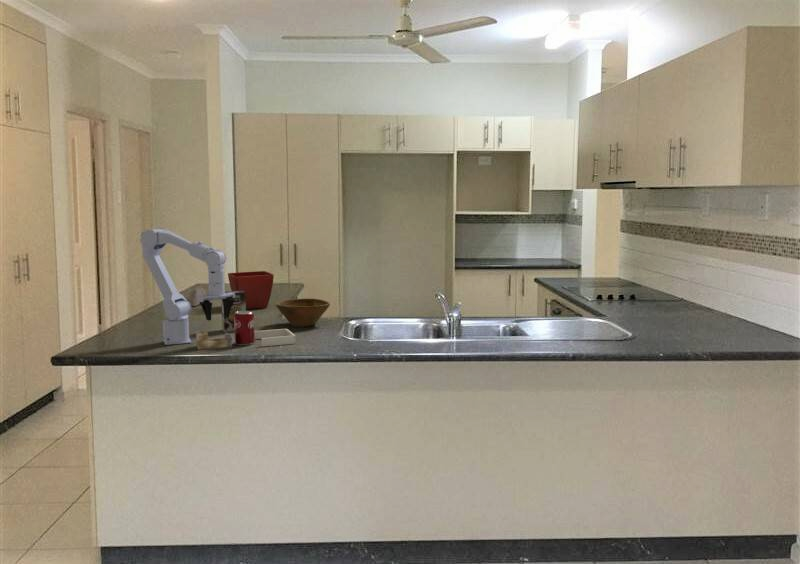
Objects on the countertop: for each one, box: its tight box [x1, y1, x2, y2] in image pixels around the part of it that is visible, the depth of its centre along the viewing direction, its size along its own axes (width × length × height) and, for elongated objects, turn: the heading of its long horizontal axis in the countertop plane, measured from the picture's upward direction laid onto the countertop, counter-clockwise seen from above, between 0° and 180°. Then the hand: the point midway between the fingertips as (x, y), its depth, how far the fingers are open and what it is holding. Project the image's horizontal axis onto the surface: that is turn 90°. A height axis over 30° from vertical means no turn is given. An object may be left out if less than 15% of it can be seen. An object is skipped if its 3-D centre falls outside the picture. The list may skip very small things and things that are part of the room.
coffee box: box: [221, 290, 247, 333], centre depth 282 cm, size 9×6×16 cm
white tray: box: [254, 328, 297, 347], centre depth 261 cm, size 13×15×3 cm
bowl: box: [275, 298, 331, 328], centre depth 292 cm, size 22×23×10 cm
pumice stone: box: [186, 285, 207, 307], centre depth 346 cm, size 15×8×10 cm, turn 169°
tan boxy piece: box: [195, 330, 233, 350], centre depth 252 cm, size 12×9×6 cm
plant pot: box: [227, 270, 275, 310], centre depth 339 cm, size 19×19×17 cm
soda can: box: [234, 310, 256, 346], centre depth 256 cm, size 7×7×12 cm
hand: (217, 318), depth 256 cm, fingers open, 7 cm apart
